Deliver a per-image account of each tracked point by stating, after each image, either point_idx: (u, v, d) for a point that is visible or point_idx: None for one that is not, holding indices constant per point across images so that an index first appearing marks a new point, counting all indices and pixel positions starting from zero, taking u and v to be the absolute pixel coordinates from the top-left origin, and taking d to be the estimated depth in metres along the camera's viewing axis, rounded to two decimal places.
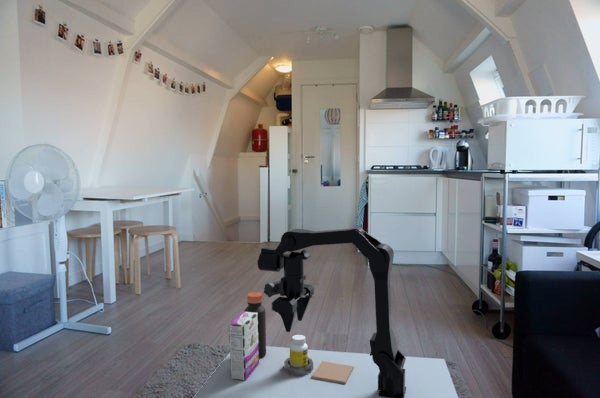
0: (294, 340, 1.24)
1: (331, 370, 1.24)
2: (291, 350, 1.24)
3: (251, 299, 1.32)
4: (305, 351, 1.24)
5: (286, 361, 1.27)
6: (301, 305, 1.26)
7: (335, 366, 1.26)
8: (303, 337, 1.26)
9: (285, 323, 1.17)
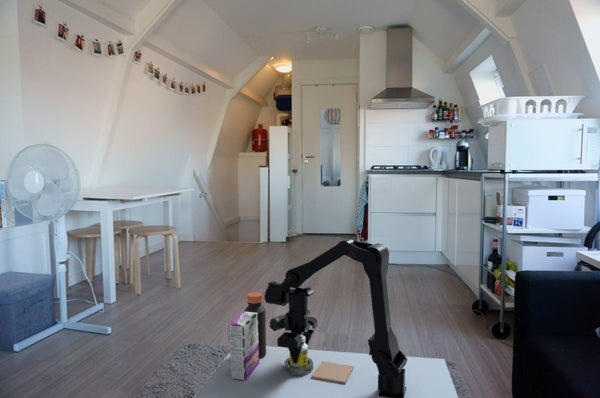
0: None
1: (331, 370, 1.24)
2: None
3: (251, 299, 1.32)
4: (305, 351, 1.24)
5: (286, 361, 1.27)
6: None
7: (335, 366, 1.26)
8: (303, 337, 1.26)
9: (292, 355, 1.23)
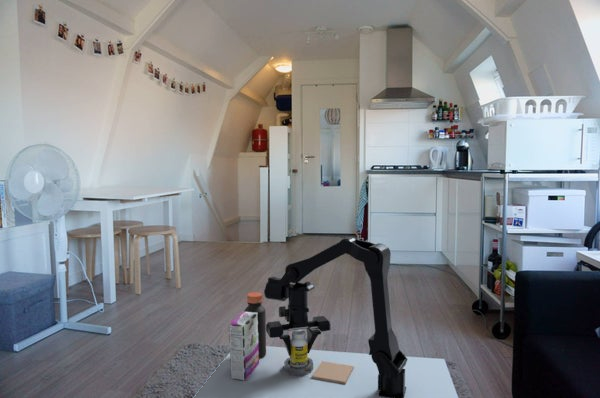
0: (292, 333, 1.26)
1: (331, 370, 1.24)
2: None
3: (251, 299, 1.32)
4: (298, 347, 1.23)
5: (286, 361, 1.27)
6: (308, 338, 1.26)
7: (335, 366, 1.26)
8: (301, 333, 1.24)
9: None
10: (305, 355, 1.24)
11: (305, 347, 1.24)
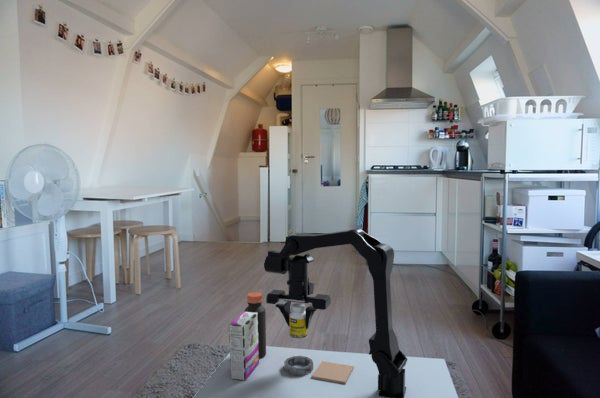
0: None
1: (331, 370, 1.24)
2: None
3: (251, 299, 1.32)
4: (292, 319, 1.23)
5: (286, 361, 1.27)
6: None
7: (335, 366, 1.26)
8: (297, 306, 1.24)
9: None
10: (300, 329, 1.23)
11: (300, 321, 1.23)
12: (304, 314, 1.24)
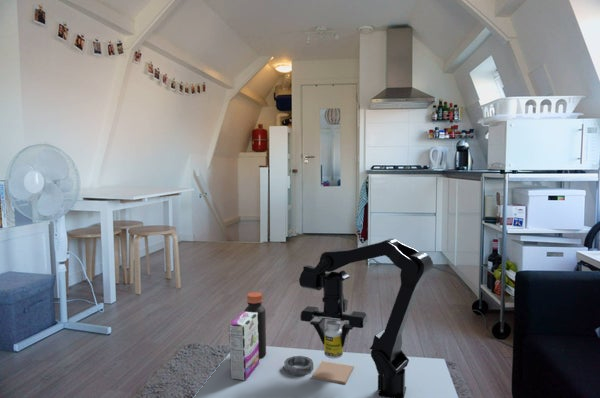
0: None
1: (331, 370, 1.24)
2: None
3: (251, 299, 1.32)
4: (328, 337, 1.21)
5: (286, 361, 1.27)
6: None
7: (335, 366, 1.26)
8: (333, 324, 1.21)
9: None
10: (336, 347, 1.20)
11: (336, 339, 1.20)
12: (340, 332, 1.21)
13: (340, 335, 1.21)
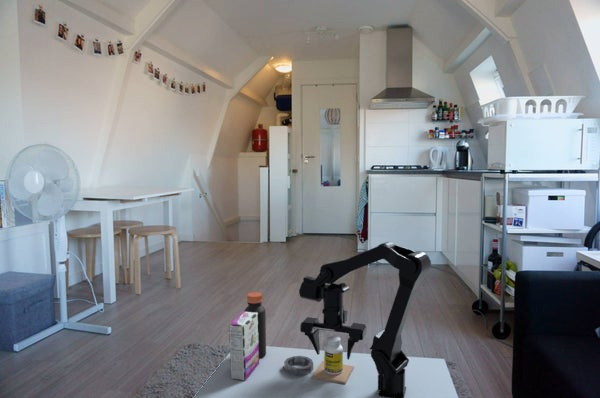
0: None
1: None
2: None
3: (251, 299, 1.32)
4: (328, 353, 1.21)
5: (286, 361, 1.27)
6: None
7: None
8: (333, 340, 1.21)
9: None
10: (336, 363, 1.21)
11: (336, 355, 1.21)
12: (340, 348, 1.22)
13: (340, 351, 1.21)
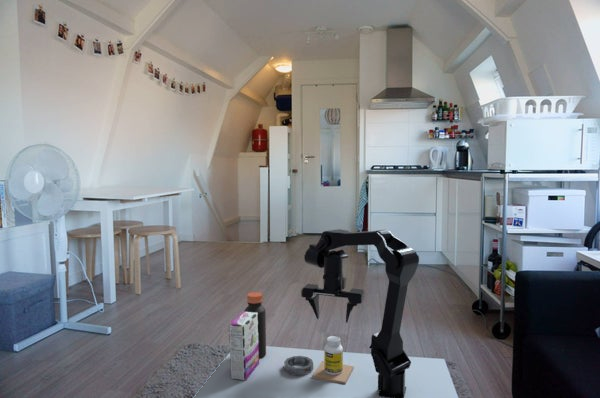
0: None
1: None
2: None
3: (251, 299, 1.32)
4: (328, 353, 1.21)
5: (286, 361, 1.27)
6: None
7: None
8: (333, 340, 1.21)
9: None
10: (336, 364, 1.21)
11: (336, 355, 1.20)
12: (340, 348, 1.22)
13: (340, 351, 1.21)
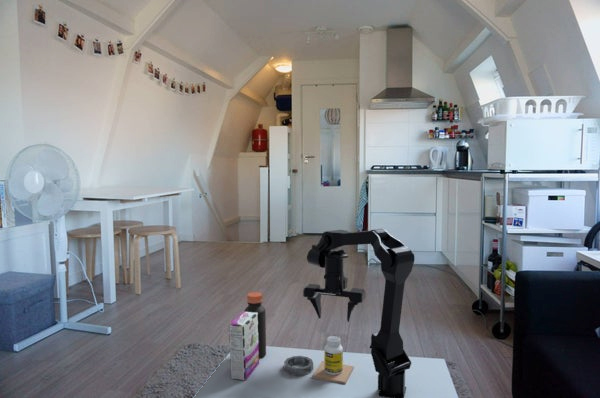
0: None
1: None
2: None
3: (251, 299, 1.32)
4: (328, 354, 1.21)
5: (286, 361, 1.27)
6: None
7: None
8: (333, 340, 1.21)
9: None
10: (336, 364, 1.21)
11: (336, 355, 1.20)
12: (340, 348, 1.22)
13: (340, 351, 1.21)
